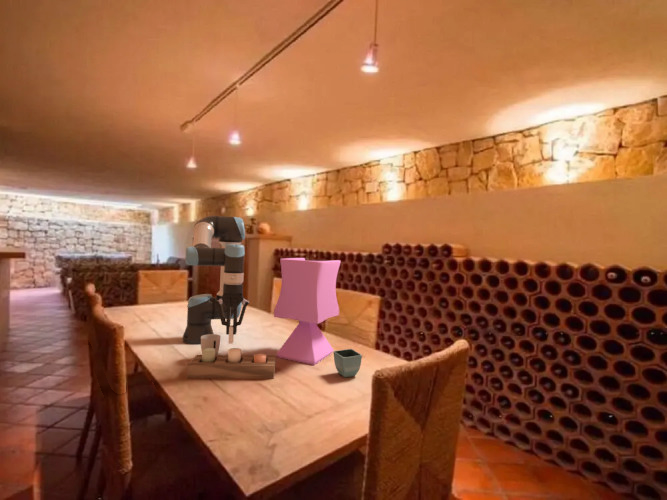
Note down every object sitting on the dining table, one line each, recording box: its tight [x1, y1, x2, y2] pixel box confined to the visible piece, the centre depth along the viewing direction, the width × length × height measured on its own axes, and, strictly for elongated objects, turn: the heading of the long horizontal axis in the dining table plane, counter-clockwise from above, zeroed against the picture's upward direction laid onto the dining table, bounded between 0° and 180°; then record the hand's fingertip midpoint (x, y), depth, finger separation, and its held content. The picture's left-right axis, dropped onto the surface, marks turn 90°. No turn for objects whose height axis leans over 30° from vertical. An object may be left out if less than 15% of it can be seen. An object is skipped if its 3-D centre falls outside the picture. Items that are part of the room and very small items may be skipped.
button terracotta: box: [253, 353, 267, 363], centre depth 135 cm, size 5×5×5 cm
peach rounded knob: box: [227, 347, 242, 363], centre depth 134 cm, size 5×5×5 cm
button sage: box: [201, 348, 215, 363], centre depth 133 cm, size 5×5×5 cm
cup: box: [200, 333, 221, 355], centre depth 147 cm, size 8×8×10 cm
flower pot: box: [333, 348, 363, 378], centre depth 136 cm, size 9×9×9 cm
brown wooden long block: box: [186, 354, 277, 380], centre depth 134 cm, size 12×32×5 cm, turn 96°
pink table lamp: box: [273, 257, 341, 366], centre depth 158 cm, size 22×22×45 cm
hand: (230, 342), depth 134 cm, fingers closed
